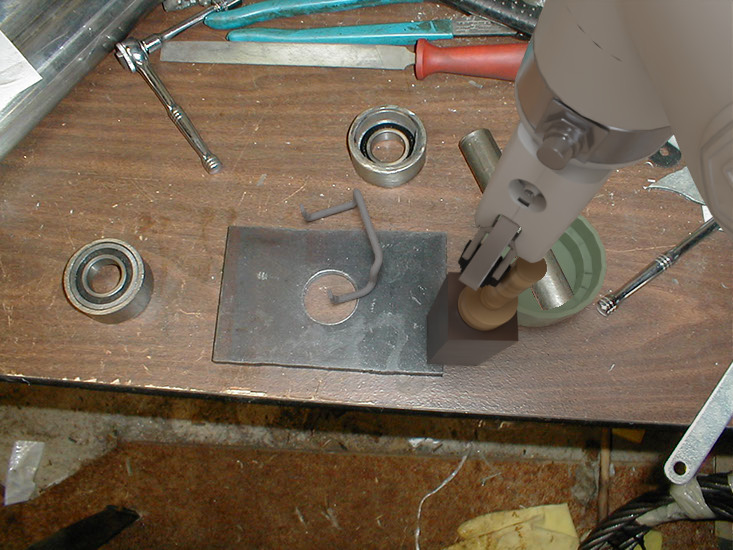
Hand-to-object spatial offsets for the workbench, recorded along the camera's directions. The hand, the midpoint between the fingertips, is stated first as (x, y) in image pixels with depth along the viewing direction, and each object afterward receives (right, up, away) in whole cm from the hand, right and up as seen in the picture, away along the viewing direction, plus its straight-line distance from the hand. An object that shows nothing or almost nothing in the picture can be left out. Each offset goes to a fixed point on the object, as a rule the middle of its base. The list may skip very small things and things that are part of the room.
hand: (513, 220), depth 41 cm
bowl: (+10, -4, +29) cm, 31 cm away
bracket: (-14, -1, +30) cm, 33 cm away
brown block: (-1, -12, +27) cm, 29 cm away
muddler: (-1, -7, +7) cm, 10 cm away
